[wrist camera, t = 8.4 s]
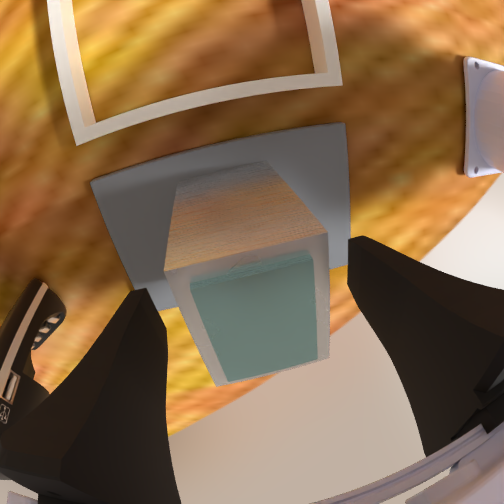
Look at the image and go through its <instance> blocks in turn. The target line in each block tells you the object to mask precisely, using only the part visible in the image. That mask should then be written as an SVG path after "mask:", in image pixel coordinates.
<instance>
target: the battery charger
mask: <svg viewBox="0 0 504 504" xmlns="http://www.w3.org/2000/svg"><path fill="white" fill-rule="evenodd" d="M65 316H66V308H65V305H64V304H63V302H62V301H61V300H60V299H59V298H58V296H57V295H56V294H55V293H53V292H52V291H51V290H50V289H49V288H48V286H47V285H46V284H45V283H44V282H43V283H42V282H41V281H40V280H38V279H36V278H34V279H33V280H31V282H30V283H29V284H28V286H27V287H26V289H25V290H24V291H23V293H22V294H21V296H20V297H19V299H18V300H17V302H16V303H15V305H14V306H13V308H12V309H11V311H10V312H9V314H8V316H7V317H6V319H5V320H4V322H3V324H2V326H1V328H0V440H1V435H2V433H3V432H4V431H6V430H7V429H9V428H10V427H11V426H13V425H14V424H16V423H17V422H18V421H20V420H21V419H23V418H24V417H25V416H26V415H28V414H29V413H30V412H31V411H32V410H34V409H35V408H36V407H37V406H38V405H39V404H40V403H42V402H43V401H44V400H45V399H46V398H47V397H48V396H49V395H50V394H49V392H48V391H47V390H46V389H45V388H44V387H43V386H42V385H40V384H39V383H37V382H36V381H35V380H33V378H34V375H35V370H34V368H33V364H32V360H31V350H35V349H37V348H38V347H40V345H41V344H42V343H43V342H44V341H45V340H46V339H47V338H48V337H49V336H50V335H51V334H52V333H53V332H54V331H55V330H56V329H57V328H58V326H59V325H60V324H61V323H62V322H63V320H64V319H65ZM0 480H11V479H10V478H8V477H6V476H5V475H3V474H2V473H1V472H0Z"/></svg>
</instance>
